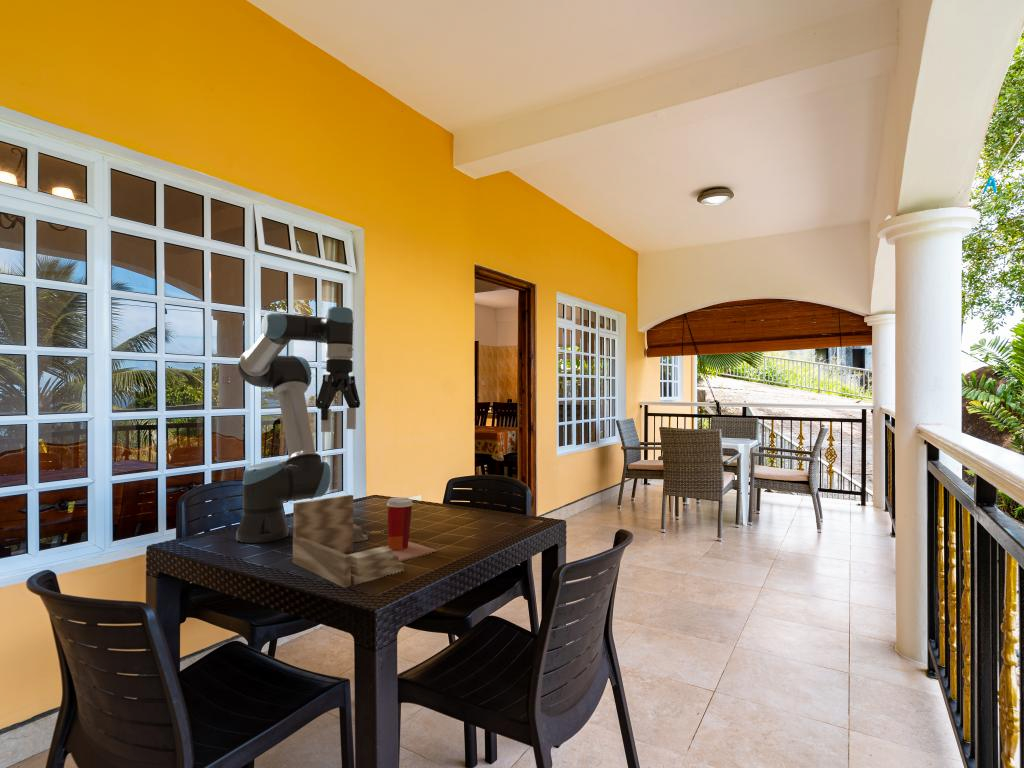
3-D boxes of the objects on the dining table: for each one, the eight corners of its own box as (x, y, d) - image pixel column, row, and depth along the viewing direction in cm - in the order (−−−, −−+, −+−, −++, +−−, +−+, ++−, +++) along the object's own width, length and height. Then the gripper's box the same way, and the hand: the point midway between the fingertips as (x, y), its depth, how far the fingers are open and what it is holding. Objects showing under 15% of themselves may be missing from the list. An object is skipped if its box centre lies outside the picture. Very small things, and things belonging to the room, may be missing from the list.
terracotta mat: (407, 543, 165) (407, 541, 165) (436, 552, 156) (436, 550, 156) (367, 552, 155) (367, 550, 155) (395, 562, 146) (395, 560, 146)
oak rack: (350, 549, 158) (350, 494, 158) (405, 570, 139) (405, 508, 139) (292, 562, 146) (293, 503, 146) (344, 587, 127) (344, 519, 127)
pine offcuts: (392, 567, 142) (392, 544, 142) (404, 571, 138) (404, 548, 138) (343, 580, 132) (343, 555, 132) (355, 585, 128) (355, 560, 128)
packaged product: (369, 525, 169) (337, 530, 164) (368, 541, 169) (337, 546, 163) (349, 515, 184) (319, 519, 178) (349, 529, 184) (319, 534, 178)
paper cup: (404, 542, 163) (406, 495, 163) (415, 549, 157) (417, 501, 157) (380, 545, 159) (381, 498, 159) (390, 553, 152) (392, 503, 152)
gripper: (326, 355, 148) (326, 433, 148) (371, 361, 173) (371, 428, 172) (303, 356, 150) (302, 432, 150) (350, 362, 174) (349, 427, 174)
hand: (339, 430), depth 161 cm, fingers open, 13 cm apart
